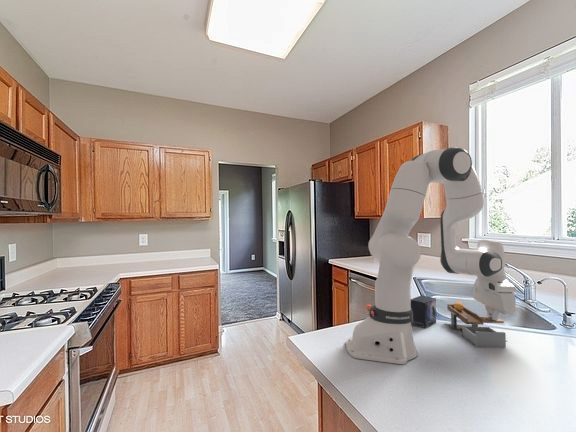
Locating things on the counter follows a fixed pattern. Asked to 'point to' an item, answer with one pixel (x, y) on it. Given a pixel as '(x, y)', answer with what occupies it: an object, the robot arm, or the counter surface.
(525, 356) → the counter surface
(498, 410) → the counter surface
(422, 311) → the small box
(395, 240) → the robot arm
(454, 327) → the stand
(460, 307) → the ball
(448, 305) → the brown wooden tray
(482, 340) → the bin
